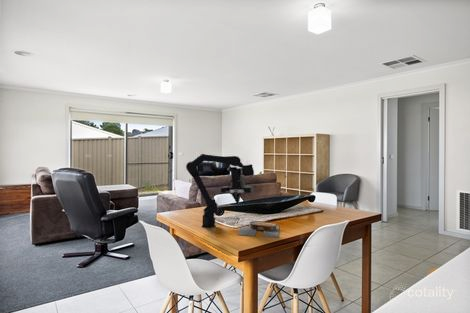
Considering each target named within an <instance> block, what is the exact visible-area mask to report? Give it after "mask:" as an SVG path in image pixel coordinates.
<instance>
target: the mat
mask: <svg viewBox="0 0 470 313" xmlns="http://www.w3.org/2000/svg"><path fill="white" fill-rule="evenodd" d="M257 232H258V231H257V229H252V228H251V227H250V225H249V226H244V227H242V226H240V228H239V230H238V232H237V236H248V237H255V236H256V234H257ZM262 232H263V233H262V237H266V238H279V236H280V235H279V234H280V225H276V230H274V231H265V230H263V231H262Z"/></svg>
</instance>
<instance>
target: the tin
mask: <svg viewBox="0 0 470 313" xmlns="http://www.w3.org/2000/svg"><path fill="white" fill-rule="evenodd" d="M249 224H250V227H251V228H252V229H257V230H259V231H264V230H265V231H274V230H276V226H278V225H277V224H276V223H275V222H270V221H261V220H253V221H250V222H249Z"/></svg>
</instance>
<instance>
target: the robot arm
mask: <svg viewBox="0 0 470 313" xmlns="http://www.w3.org/2000/svg"><path fill="white" fill-rule="evenodd" d="M203 162H213V163H221V164H226V165H230V166H228V168H226V170H227V171H230V183H231V186H230V185H223V186H222V187H220V193H227V192H229V194H230V195H231V196H232V198H233V199H234V202H235V203H236V204H237V205H239V204H240V201H241V197H242V194H244V193H245V194H251V193H252V192H254V191H255V190H254V187H253V186H252V185H246V186H245V181H244V180H243V178H245V177H254V175H255V171H254V167H253V164H246V165H245V164H243V162H241V158H240V157H239V156H238V155H237V156H236V155H230V156H220V155H213V154H205V153H201V154H200V155H199V156H197V157H196V158H195V159H194V160H192V161H188V162H187V163H186V165H185V168H186V171H187V172H188V174H190V176H191V177H192V179H193V180H194V182H195V184H196V187H197V188H198V190H199V192H200V194H201V195H202V198H203V199H204V203H205V206H206V207H205V208H204V209H202V212H203V214H202V224H201V228H214V227H215V226H216V217H215V214H217V212H218V209H219V208H218V207H219V205H218V203H217V202H216V199H215V197H211V195H210V194H209V192H208V190H207V188H206V186H205V184H204V182H203V179H202V178H201V176H200V174H199V170H198V167H199V166H200V165H201V164H203ZM242 176H243V178H242Z"/></svg>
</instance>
